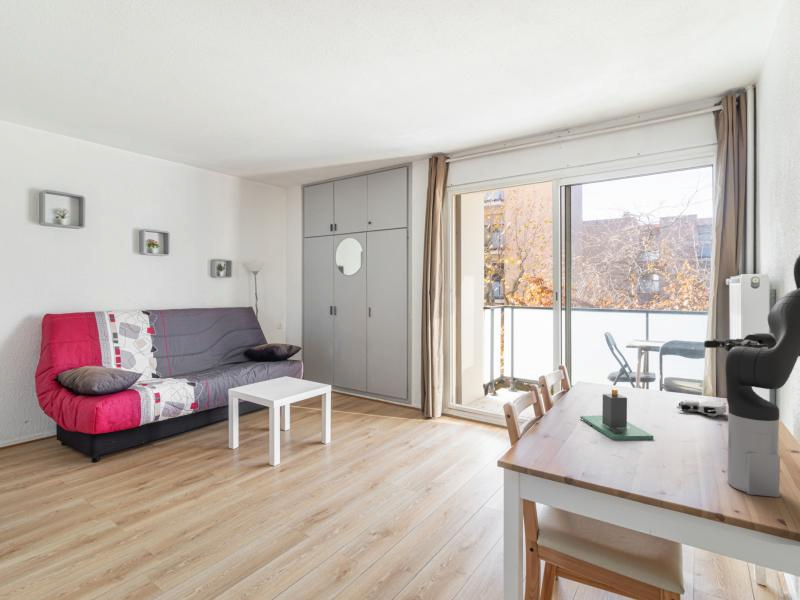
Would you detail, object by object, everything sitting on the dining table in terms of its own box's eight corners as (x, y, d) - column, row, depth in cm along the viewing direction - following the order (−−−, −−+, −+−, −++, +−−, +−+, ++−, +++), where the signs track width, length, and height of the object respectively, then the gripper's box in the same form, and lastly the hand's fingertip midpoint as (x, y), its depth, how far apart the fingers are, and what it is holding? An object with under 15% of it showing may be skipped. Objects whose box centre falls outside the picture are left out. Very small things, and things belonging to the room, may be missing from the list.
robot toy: (675, 414, 164) (723, 420, 153) (674, 403, 164) (722, 407, 153) (682, 408, 172) (729, 413, 162) (682, 397, 172) (728, 401, 162)
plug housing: (626, 427, 141) (627, 391, 141) (610, 427, 141) (611, 391, 141) (617, 422, 147) (617, 388, 146) (602, 422, 146) (602, 388, 146)
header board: (653, 439, 133) (653, 426, 133) (613, 440, 133) (613, 426, 132) (615, 418, 155) (615, 407, 155) (580, 419, 155) (580, 407, 154)
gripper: (747, 331, 137) (698, 331, 136) (789, 335, 123) (735, 336, 122) (746, 354, 137) (698, 354, 136) (788, 361, 123) (734, 361, 122)
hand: (715, 345), depth 129 cm, fingers open, 8 cm apart
